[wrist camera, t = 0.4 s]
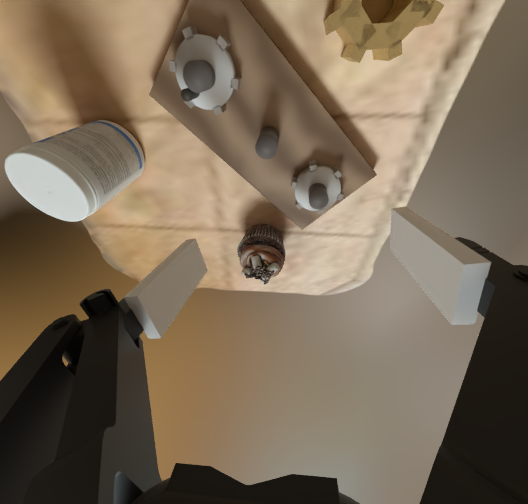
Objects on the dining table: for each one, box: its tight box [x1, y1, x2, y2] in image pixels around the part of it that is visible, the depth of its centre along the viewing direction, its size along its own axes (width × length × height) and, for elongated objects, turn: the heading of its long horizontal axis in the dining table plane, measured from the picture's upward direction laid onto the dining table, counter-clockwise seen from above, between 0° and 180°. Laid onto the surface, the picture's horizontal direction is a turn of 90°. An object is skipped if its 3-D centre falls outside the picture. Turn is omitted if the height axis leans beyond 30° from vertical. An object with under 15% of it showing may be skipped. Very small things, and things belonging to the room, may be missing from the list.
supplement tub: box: [5, 120, 145, 221], centre depth 32 cm, size 10×10×15 cm
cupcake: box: [237, 224, 285, 284], centre depth 44 cm, size 10×10×10 cm
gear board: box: [149, 0, 376, 229], centre depth 31 cm, size 15×31×7 cm, turn 48°
